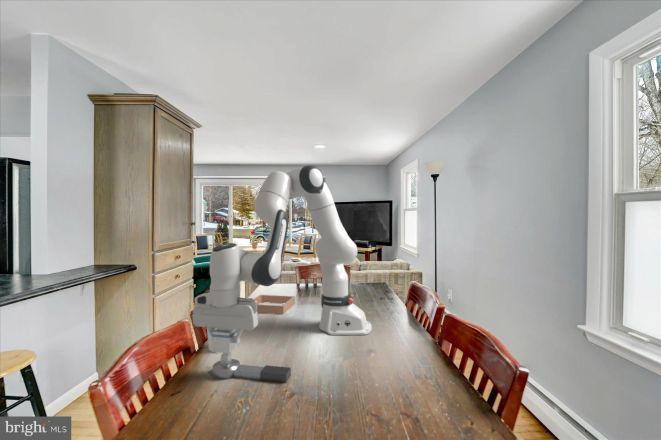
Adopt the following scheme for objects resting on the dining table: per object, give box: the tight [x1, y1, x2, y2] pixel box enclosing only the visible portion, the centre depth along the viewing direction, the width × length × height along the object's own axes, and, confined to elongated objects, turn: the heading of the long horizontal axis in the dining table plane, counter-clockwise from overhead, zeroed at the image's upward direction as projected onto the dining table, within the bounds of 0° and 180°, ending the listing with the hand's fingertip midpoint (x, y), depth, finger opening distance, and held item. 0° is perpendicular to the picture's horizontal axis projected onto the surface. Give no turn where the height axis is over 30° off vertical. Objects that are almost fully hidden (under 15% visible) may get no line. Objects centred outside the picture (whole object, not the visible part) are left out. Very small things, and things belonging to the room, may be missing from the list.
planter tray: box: [252, 294, 296, 315], centre depth 166 cm, size 20×19×4 cm
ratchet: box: [211, 352, 292, 384], centre depth 96 cm, size 24×8×6 cm, turn 79°
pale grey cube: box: [212, 328, 239, 354], centre depth 98 cm, size 6×6×6 cm
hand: (225, 341), depth 98 cm, fingers closed on pale grey cube, 6 cm apart
